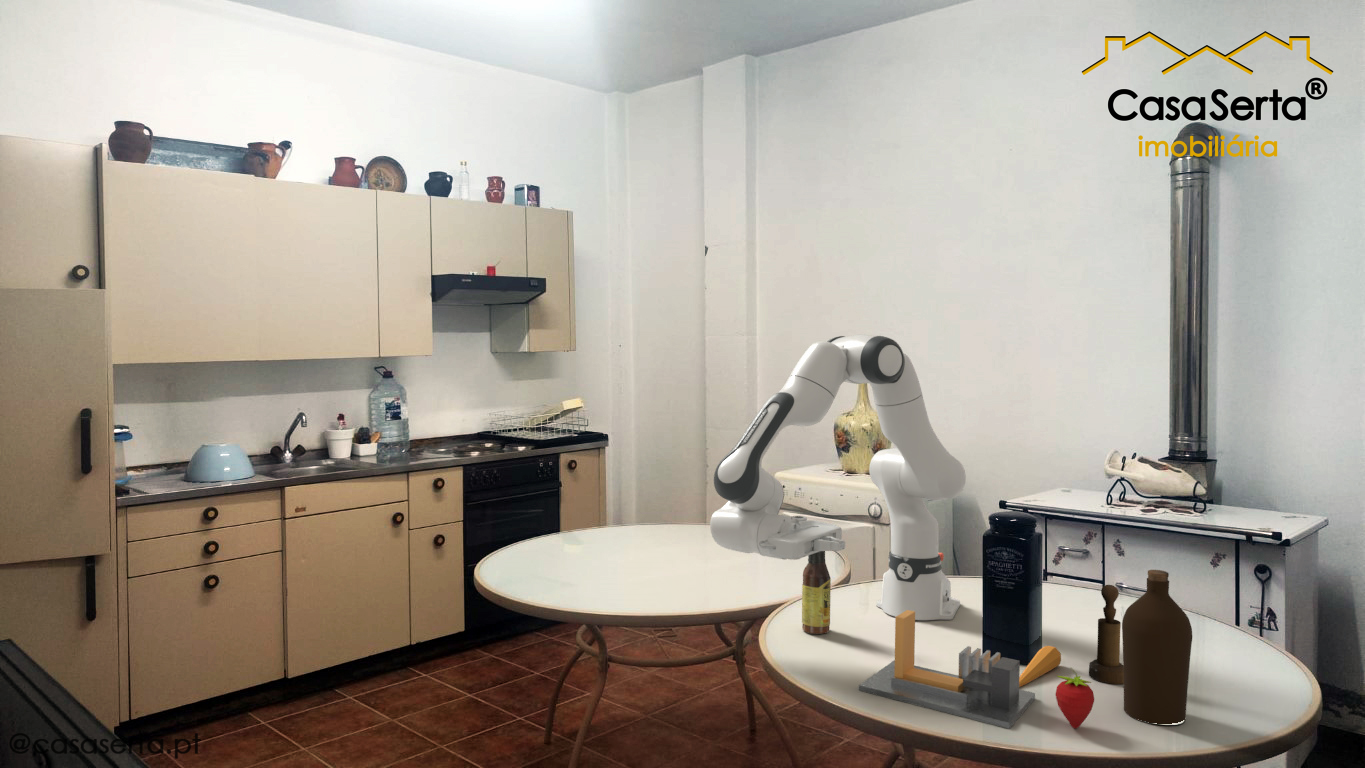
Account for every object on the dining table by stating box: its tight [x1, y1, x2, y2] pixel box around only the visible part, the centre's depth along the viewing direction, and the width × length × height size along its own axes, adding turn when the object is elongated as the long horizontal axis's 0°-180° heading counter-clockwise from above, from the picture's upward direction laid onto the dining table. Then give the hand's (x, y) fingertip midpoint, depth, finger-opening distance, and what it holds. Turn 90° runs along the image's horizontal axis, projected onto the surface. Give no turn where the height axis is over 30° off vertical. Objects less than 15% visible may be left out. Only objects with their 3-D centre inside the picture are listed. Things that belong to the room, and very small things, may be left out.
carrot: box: [1019, 645, 1062, 688], centre depth 168 cm, size 20×4×4 cm, turn 136°
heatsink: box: [858, 645, 1036, 729], centre depth 159 cm, size 16×27×8 cm, turn 54°
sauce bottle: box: [801, 551, 832, 635], centre depth 194 cm, size 7×6×20 cm
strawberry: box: [1054, 666, 1095, 729], centre depth 145 cm, size 6×8×10 cm
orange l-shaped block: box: [894, 610, 965, 693], centre depth 161 cm, size 6×12×12 cm, turn 54°
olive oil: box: [1121, 569, 1193, 724], centre depth 150 cm, size 11×11×25 cm
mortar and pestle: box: [1088, 584, 1124, 685], centre depth 167 cm, size 7×6×18 cm
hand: (842, 546), depth 171 cm, fingers closed
